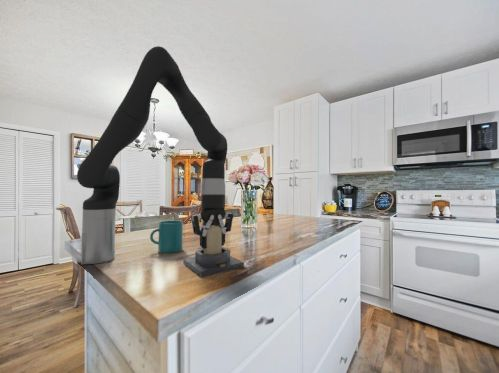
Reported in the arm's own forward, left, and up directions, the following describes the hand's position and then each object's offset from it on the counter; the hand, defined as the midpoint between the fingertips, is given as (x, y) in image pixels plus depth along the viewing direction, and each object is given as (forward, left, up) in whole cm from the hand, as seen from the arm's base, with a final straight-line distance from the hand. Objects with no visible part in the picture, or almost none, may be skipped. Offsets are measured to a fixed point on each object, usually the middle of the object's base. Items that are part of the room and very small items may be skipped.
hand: (212, 246), depth 69 cm
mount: (0, 0, -6) cm, 6 cm away
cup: (-7, +26, -6) cm, 28 cm away
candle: (0, 0, -3) cm, 3 cm away
